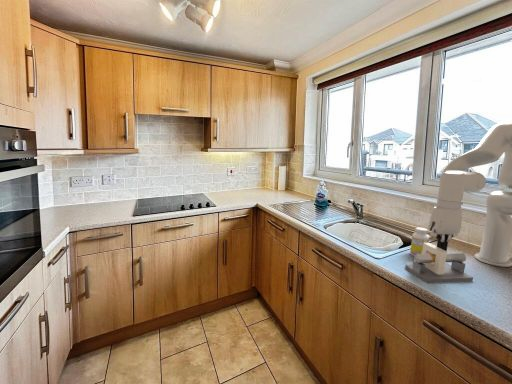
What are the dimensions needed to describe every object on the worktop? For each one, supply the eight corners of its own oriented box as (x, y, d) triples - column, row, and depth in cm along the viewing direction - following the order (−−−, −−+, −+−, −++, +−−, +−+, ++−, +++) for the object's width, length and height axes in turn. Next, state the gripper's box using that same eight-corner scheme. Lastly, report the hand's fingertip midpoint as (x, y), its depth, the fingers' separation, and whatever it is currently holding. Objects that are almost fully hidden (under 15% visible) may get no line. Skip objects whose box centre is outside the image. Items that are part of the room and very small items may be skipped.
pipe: (455, 267, 109) (458, 250, 107) (463, 272, 105) (467, 254, 104) (412, 269, 107) (414, 251, 105) (419, 274, 103) (421, 256, 101)
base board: (446, 266, 113) (447, 263, 113) (472, 281, 101) (473, 277, 101) (405, 268, 111) (405, 264, 111) (426, 283, 99) (426, 279, 99)
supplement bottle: (420, 252, 128) (424, 226, 125) (429, 258, 121) (434, 231, 119) (406, 252, 127) (410, 226, 125) (415, 258, 121) (419, 231, 119)
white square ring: (426, 263, 110) (429, 242, 108) (443, 274, 101) (447, 251, 99) (420, 263, 109) (423, 242, 108) (437, 274, 101) (441, 251, 99)
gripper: (458, 202, 105) (450, 246, 109) (423, 202, 104) (416, 247, 107) (475, 207, 98) (467, 254, 101) (438, 207, 96) (431, 254, 100)
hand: (441, 250), depth 104 cm, fingers closed
